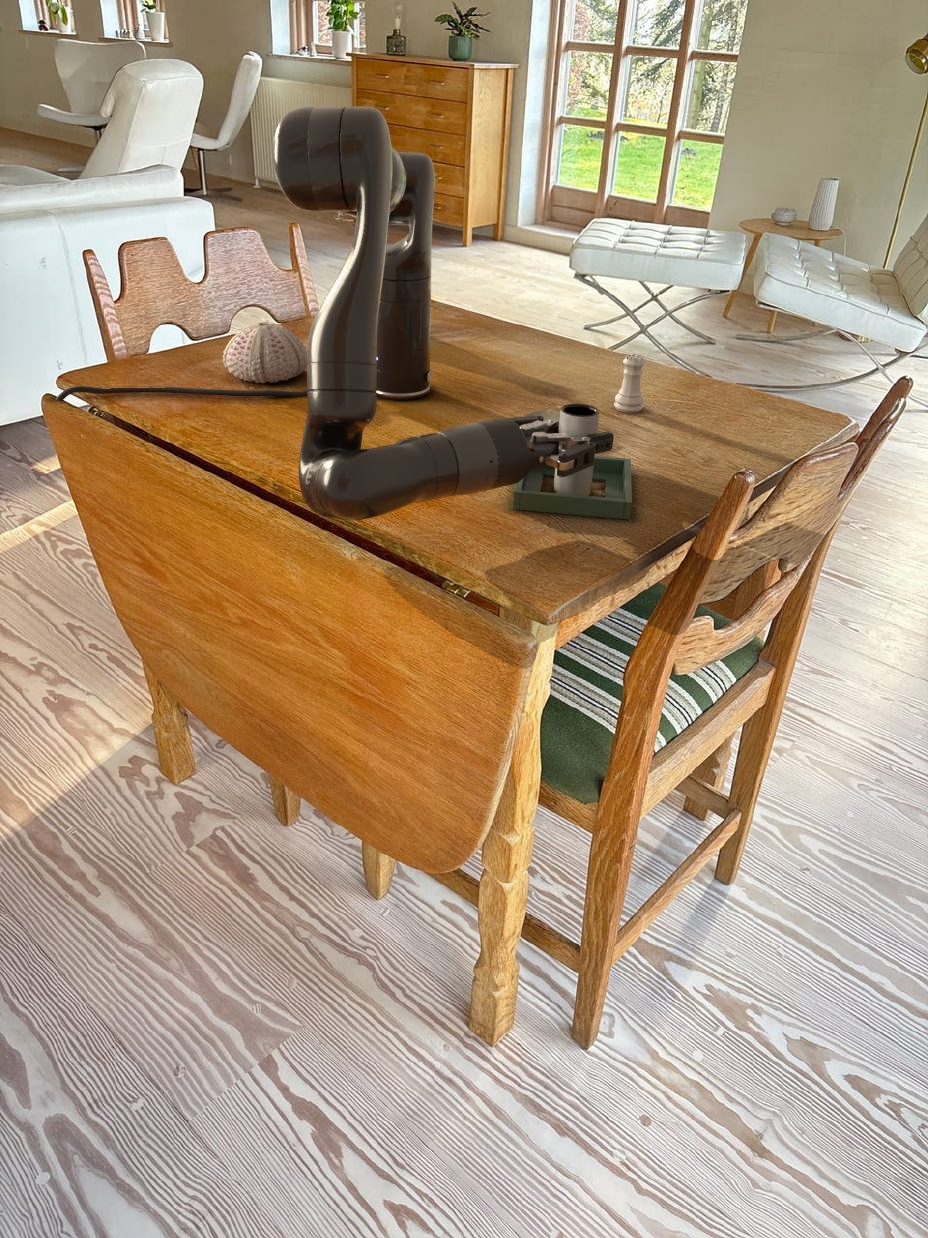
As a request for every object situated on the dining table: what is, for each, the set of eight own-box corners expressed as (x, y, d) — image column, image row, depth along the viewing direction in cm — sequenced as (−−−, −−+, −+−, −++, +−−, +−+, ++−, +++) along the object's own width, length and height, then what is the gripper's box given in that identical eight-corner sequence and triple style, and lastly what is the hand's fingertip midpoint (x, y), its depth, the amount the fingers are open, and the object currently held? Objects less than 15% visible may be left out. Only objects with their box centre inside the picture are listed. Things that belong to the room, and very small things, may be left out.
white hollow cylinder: (550, 483, 118) (557, 403, 113) (586, 483, 119) (595, 403, 113) (556, 499, 114) (564, 416, 109) (593, 498, 115) (603, 416, 109)
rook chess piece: (642, 414, 142) (649, 361, 137) (612, 411, 142) (618, 358, 138) (643, 405, 145) (650, 352, 141) (614, 402, 146) (620, 350, 142)
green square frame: (512, 509, 111) (513, 492, 110) (522, 465, 123) (523, 449, 122) (629, 519, 110) (632, 502, 109) (628, 474, 122) (630, 458, 120)
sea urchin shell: (241, 392, 144) (236, 338, 140) (213, 368, 154) (208, 317, 150) (323, 381, 150) (320, 329, 146) (290, 358, 160) (287, 309, 156)
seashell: (514, 440, 136) (543, 445, 129) (509, 419, 135) (539, 423, 128) (562, 422, 139) (593, 427, 132) (558, 401, 137) (589, 405, 131)
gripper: (515, 446, 99) (640, 421, 107) (444, 405, 109) (563, 385, 117) (511, 512, 103) (632, 483, 111) (442, 467, 113) (557, 443, 121)
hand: (595, 433), depth 114 cm, fingers open, 5 cm apart
